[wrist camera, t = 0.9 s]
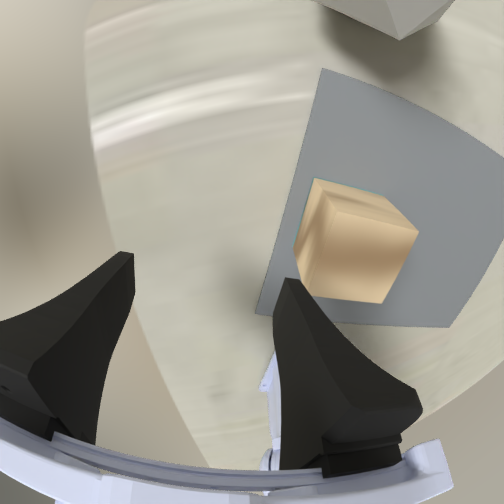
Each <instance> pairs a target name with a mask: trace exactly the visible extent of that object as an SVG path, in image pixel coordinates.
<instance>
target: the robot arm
mask: <svg viewBox="0 0 504 504" xmlns="http://www.w3.org/2000/svg"><path fill="white" fill-rule="evenodd" d="M134 295H135V274H134V253H128V252H122V251H120V252H118V253H117V254H115V255H114V256H113V257H112V258H110V259H109V260H108V261H106V262H105V263H104V264H103V265H101V266H100V267H99V268H97V269H96V270H95V271H93V272H92V273H91V274H89V275H88V276H87V277H85V278H84V279H82V280H81V281H80V282H78V283H77V284H75V285H74V286H73V287H71V288H70V289H68V290H66V291H65V292H63V293H62V294H60V295H58V296H57V297H55V298H53V299H51V300H50V301H48V302H46V303H44V304H42V305H40V306H38V307H36V308H34V309H32V310H29V311H27V312H25V313H22V314H20V315H17V316H15V317H12V318H9V319H6V320H4V321H0V471H2V472H3V473H5V474H7V475H8V476H10V477H12V478H14V479H15V480H17V481H19V482H21V483H23V484H25V485H27V486H29V487H30V488H32V489H34V490H37V491H38V492H41V493H43V494H45V495H47V496H49V497H51V498H54V499H56V501H55V504H418V503H420V502H423V501H425V500H428V499H430V498H432V497H435V496H437V495H439V494H441V493H443V492H445V491H447V490H450V489H452V488H453V486H454V485H453V481H452V478H451V474H450V471H449V467H448V464H447V461H446V458H445V454H444V451H443V448H442V445H441V442H440V440H439V439H434V440H430V441H427V442H424V443H420V444H418V445H416V446H413V447H412V448H410V449H409V450H407V451H406V452H405V453H403V454H401V453H400V449H399V445H398V444H399V443H401V442H402V438H401V434H400V433H402V432H403V431H404V430H405V429H407V428H408V427H409V426H410V425H412V424H413V423H414V422H415V421H416V420H417V419H418V418H419V417H420V416H421V414H422V412H423V408H422V405H421V402H420V400H419V397H418V395H417V392H416V390H415V389H414V388H412V387H410V386H408V385H407V384H405V383H403V382H401V381H400V380H398V379H396V378H395V377H393V376H392V375H390V374H389V373H387V372H386V371H384V370H383V369H381V368H380V367H379V366H377V365H376V364H375V363H373V362H372V361H371V360H370V359H368V358H367V357H366V356H365V355H364V354H362V353H361V352H360V351H359V350H358V349H357V348H356V347H355V346H354V345H353V344H352V343H351V342H350V341H349V340H348V339H347V338H346V337H345V336H344V335H343V334H342V333H341V332H340V331H339V330H338V329H337V328H336V326H335V325H334V324H333V323H332V322H331V321H330V319H329V318H328V317H327V316H326V315H325V313H324V312H323V311H322V309H321V308H320V307H319V305H318V304H317V303H316V301H315V300H314V299H313V297H312V296H311V295H310V293H309V292H308V290H307V289H306V288H305V286H304V285H303V283H302V282H301V281H300V280H299V279H294V278H287V277H285V279H284V282H283V285H282V288H281V291H280V293H279V296H278V299H277V302H276V305H275V308H274V311H273V338H274V345H275V351H274V354H273V356H272V358H271V361H270V363H269V365H268V368H267V370H266V372H265V374H264V377H263V379H262V381H261V383H260V386H259V391H262V392H267V399H268V413H269V428H270V434H271V437H272V446H273V448H270V449H268V450H267V451H266V452H265V454H264V456H263V457H262V459H261V462H260V468H259V471H256V470H229V469H215V468H204V467H194V466H186V465H180V464H173V463H167V462H161V461H156V460H151V459H146V458H141V457H136V456H132V455H128V454H124V453H120V452H116V451H112V450H109V449H105V448H102V447H98V446H95V441H96V430H97V422H98V415H99V409H100V402H101V397H102V392H103V387H104V382H105V378H106V374H107V370H108V366H109V362H110V359H111V357H112V353H113V351H114V348H115V346H116V344H117V341H118V339H119V336H120V334H121V332H122V329H123V327H124V324H125V322H126V320H127V317H128V315H129V312H130V309H131V305H132V302H133V299H134ZM95 467H97V468H100V469H103V470H107V471H110V472H114V473H117V474H101V473H100V471H99V469H97V468H95ZM118 474H121V475H118ZM122 475H125V476H122ZM127 476H129V477H127ZM132 477H133V478H132ZM137 478H138V479H137ZM141 479H142V480H141ZM146 480H147V481H146ZM151 481H152V482H151ZM156 482H158V483H156ZM162 483H163V484H162ZM168 484H169V485H168ZM174 485H176V486H174ZM181 486H183V487H181ZM189 487H191V488H189ZM197 488H200V489H197ZM208 489H210V490H208ZM221 490H225V491H221ZM235 491H263V494H264V496H259V495H258V494H253V493H247V492H235Z"/></svg>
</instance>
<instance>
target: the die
mask: <svg viewBox="0 0 504 504" xmlns="http://www.w3.org/2000/svg"><path fill="white" fill-rule="evenodd" d="M312 1H315V2H317V3H320V4H322V5H324V6H327V7H329V8H331V9H334V10H336V11H338V12H340V13H343V14H345V15H347V16H349V17H351V18H353V19H355V20H357V21H359V22H361V23H363V24H366V25H368V26H370V27H372V28H375V29H377V30H379V31H381V32H383V33H385V34H388V35H390V36H392V37H394V38H396V39H398V40H399V41H400V40H401V39H403V38H405V37H407V36H409V35H411V34H413V33H415V32H417V31H419V30H421V29H423V28H425V27H427V26H429V25H431V24H433V23H435V22H437V21H438V20H439V19H440V17H441V16H442V15H443V14H444V13H445V11H446V10H447V9H448V8H449V7H450V5H451V4H452V3H453V2H454V1H455V0H312Z"/></svg>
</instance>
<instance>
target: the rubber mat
mask: <svg viewBox="0 0 504 504" xmlns="http://www.w3.org/2000/svg"><path fill="white" fill-rule="evenodd" d="M313 177H317V178H321V179H325V180H329V181H333V182H337V183H341V184H345V185H348V186H352V187H356V188H360V189H363V190H367V191H370V192H374V193H377V194H381V195H383V196H384V197H385V198H386V199H387V200H388V201H389V202H390V203H391V204H392V205H394V206H395V207H396V208H397V209H398V210H399V211H400V212H401V213H402V214H403V215H404V216H405V217H406V218H407V219H408V220H409V222H410V223H411V224H412V225H413V226H414V227H415V228H416V229H417V230H418V231H419V233H418V235H417V237H416V239H415V242H414V244H413V246H412V248H411V250H410V252H409V254H408V256H407V258H406V260H405V262H404V264H403V266H402V268H401V270H400V271H399V273H398V275H397V277H396V279H395V281H394V283H393V284H392V286H391V288H390V290H389V292H388V293H387V295H386V297H385V299H384V300H383V302H382V304H380V303H371V302H361V301H352V300H342V299H334V298H325V297H317V296H312V297H313V299H314V300H315V301H316V303H317V304H318V305H319V307H320V308H321V309H322V311H323V312H324V313H325V315H326V316H327V317H328V318H329V319H330V321H331V322H338V323H351V324H366V325H383V326H405V327H439V328H449V327H450V326H451V324H452V323H453V322H454V320H455V319H456V317H457V316H458V315H459V313H460V312H461V310H462V309H463V307H464V306H465V304H466V303H467V301H468V300H469V298H470V297H471V295H472V294H473V292H474V290H475V289H476V287H477V286H478V284H479V282H480V281H481V279H482V277H483V276H484V274H485V272H486V270H487V269H488V267H489V265H490V263H491V262H492V260H493V258H494V256H495V254H496V252H497V250H498V248H499V247H500V245H501V243H502V241H503V239H504V158H503V157H502V156H500V155H499V154H498V153H496V152H495V151H493V150H492V149H490V148H489V147H488V146H486V145H485V144H483V143H482V142H480V141H479V140H477V139H476V138H474V137H472V136H471V135H469V134H468V133H466V132H464V131H463V130H461V129H460V128H458V127H456V126H455V125H453V124H451V123H449V122H448V121H446V120H444V119H442V118H440V117H439V116H437V115H435V114H433V113H431V112H429V111H427V110H425V109H423V108H421V107H419V106H417V105H415V104H413V103H411V102H409V101H407V100H405V99H403V98H401V97H398V96H396V95H394V94H392V93H389V92H387V91H385V90H382V89H380V88H377V87H375V86H373V85H370V84H367V83H365V82H362V81H360V80H357V79H354V78H351V77H349V76H346V75H343V74H340V73H337V72H334V71H331V70H328V69H324V68H322V71H321V75H320V79H319V83H318V87H317V91H316V95H315V99H314V103H313V106H312V110H311V114H310V118H309V122H308V126H307V130H306V133H305V137H304V141H303V145H302V149H301V152H300V156H299V160H298V163H297V167H296V171H295V175H294V178H293V182H292V186H291V189H290V193H289V196H288V200H287V204H286V207H285V211H284V214H283V218H282V222H281V225H280V229H279V232H278V236H277V239H276V243H275V246H274V250H273V253H272V257H271V260H270V264H269V267H268V271H267V274H266V278H265V281H264V284H263V288H262V291H261V295H260V298H259V301H258V305H257V308H256V311H255V314H259V315H267V316H273V311H274V308H275V305H276V302H277V299H278V296H279V293H280V291H281V288H282V285H283V282H284V279H285V277H287V278H294V279H299V280H300V281H301V277H300V273H299V269H298V266H297V262H296V258H295V254H294V251H293V247H292V246H293V242H294V239H295V236H296V233H297V230H298V227H299V223H300V220H301V217H302V214H303V210H304V207H305V204H306V201H307V197H308V194H309V191H310V187H311V184H312V180H313ZM301 282H302V281H301Z"/></svg>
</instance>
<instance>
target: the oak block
mask: <svg viewBox="0 0 504 504" xmlns="http://www.w3.org/2000/svg"><path fill="white" fill-rule="evenodd" d="M418 233H419V231H418V230H417V229H416V228H415V227H414V226H413V225H412V224H411V223H410V222H409V220H408V219H407V218H406V217H405V216H404V215H403V214H402V213H401V212H400V211H399V210H398V209H397V208H396V207H395V206H394V205H392V204H391V203H390V202H389V201H388V200H387V199H386V198H385V197H384V196H383V195H381V194H377V193H374V192H370V191H367V190H363V189H360V188H356V187H352V186H348V185H345V184H341V183H337V182H333V181H329V180H325V179H321V178H317V177H313V180H312V184H311V187H310V191H309V194H308V197H307V201H306V204H305V207H304V210H303V214H302V217H301V220H300V223H299V227H298V230H297V233H296V236H295V239H294V242H293V246H292V247H293V251H294V254H295V258H296V262H297V266H298V269H299V273H300V277H301V281H302V283H303V285H304V286H305V288H306V289H307V290H308V292H309V293H310V295H311V296H317V297H325V298H334V299H342V300H352V301H361V302H371V303H380V304H382V302H383V300H384V299H385V297H386V295H387V293H388V292H389V290H390V288H391V286H392V284H393V283H394V281H395V279H396V277H397V275H398V273H399V271H400V270H401V268H402V266H403V264H404V262H405V260H406V258H407V256H408V254H409V252H410V250H411V248H412V246H413V244H414V242H415V239H416V237H417V235H418Z"/></svg>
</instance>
